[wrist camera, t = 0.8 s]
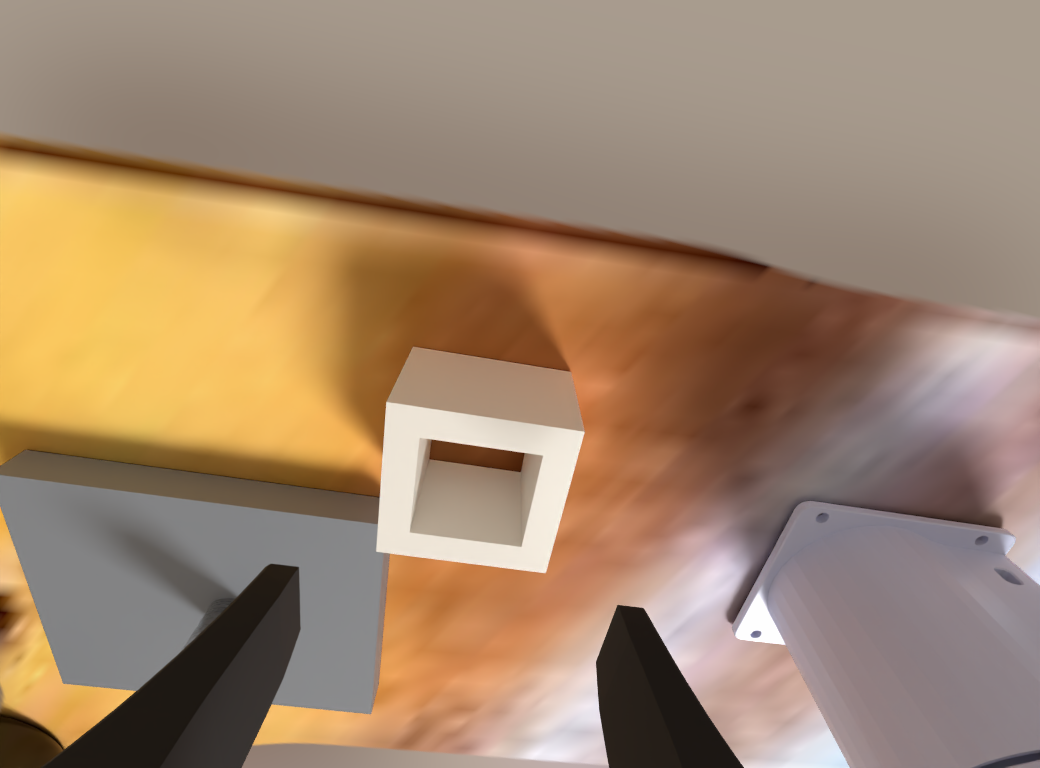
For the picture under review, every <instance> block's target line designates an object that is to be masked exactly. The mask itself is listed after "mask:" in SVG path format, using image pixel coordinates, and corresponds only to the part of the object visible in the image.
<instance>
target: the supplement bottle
mask: <svg viewBox="0 0 1040 768" xmlns="http://www.w3.org/2000/svg"><path fill="white" fill-rule="evenodd" d="M62 751H63V749H62V748H61V746H60V745H59V744H58V743H57V742H56V741H55V740H54V739H53V738H51V737H50V736H49V735H47V734H46V733H44V732H42V731H41V730H39V729H37V728H35V727H33V726H31V725H28V724H26V723H23V722H20V721H17V720H14V719H10V718H6V717H2V716H0V768H40V767H42V766H43V765H44V764H46V763H47V762H48V761H50V760H51V759H52V758H54V757H55V756H56V755H58V754H59V753H60V752H62Z"/></svg>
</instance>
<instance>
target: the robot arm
mask: <svg viewBox="0 0 1040 768" xmlns="http://www.w3.org/2000/svg"><path fill="white" fill-rule="evenodd" d="M821 513H822V514H821ZM819 514H821V515H819ZM818 515H819V516H818ZM1015 541H1016V538H1015V536H1014V535H1013V534H1012V533H1010V532H1009V531H1008V530H1006V529H1002V528H996V527H989V526H982V525H975V524H968V523H961V522H954V521H947V520H940V519H933V518H926V517H919V516H912V515H906V514H899V513H892V512H885V511H878V510H871V509H864V508H857V507H850V506H843V505H836V504H829V503H822V502H816V501H805V502H802V503H800V504H799V505H797V507H796V508H795V509H794V511H793V513H792V515H791V517H790V519H789V520H788V522H787V524H786V526H785V528H784V530H783V532H782V534H781V535H780V537H779V539H778V541H777V543H776V545H775V547H774V549H773V550H772V552H771V554H770V556H769V558H768V560H767V562H766V563H765V565H764V567H763V569H762V571H761V573H760V575H759V577H758V578H757V580H756V582H755V584H754V586H753V588H752V590H751V591H750V593H749V595H748V597H747V599H746V601H745V603H744V605H743V606H742V608H741V610H740V612H739V614H738V616H737V618H736V619H735V621H734V623H733V625H732V630H733V632H734V635H735V637H737V638H738V639H742V640H750V641H759V642H767V643H775V644H784V645H786V647H787V648H788V650H789V652H790V654H791V656H792V658H793V660H794V662H795V664H796V666H797V668H798V670H799V671H800V673H801V675H802V677H803V679H804V681H805V683H806V685H807V687H808V689H809V691H810V693H811V694H812V696H813V698H814V700H815V702H816V704H817V706H818V708H819V710H820V712H821V714H822V715H823V717H824V719H825V721H826V723H827V725H828V727H829V729H830V731H831V733H832V735H833V737H834V738H835V740H836V742H837V744H838V746H839V748H840V750H841V752H842V754H843V756H844V758H845V759H846V761H847V763H848V765H849V767H850V768H1040V585H1039V584H1037V583H1036V582H1035V581H1034V580H1033V579H1032V578H1030V577H1029V576H1028V575H1027V574H1026V573H1025V572H1024V571H1022V570H1021V569H1020V568H1019V567H1018V566H1017V565H1016V564H1014V563H1013V562H1012V561H1011V560H1010V559H1009V558H1007V557H1006V556H1005V555H1006V554H1007V553H1008V551H1009V550H1010V549H1011V548H1012V546H1013V545H1014V543H1015ZM300 630H301V626H300V583H299V567H296V566H288V565H279V564H269V565H267V566H266V567H265V568H264V569H263V570H262V571H261V572H260V573H259V574H258V575H257V576H256V578H255V579H254V580H253V581H252V582H251V583H250V584H249V585H248V586H247V587H246V588H245V589H244V590H243V591H242V592H241V593H240V594H239V595H238V596H237V597H236V598H235V599H234V600H233V601H232V603H231V604H230V605H229V606H228V607H227V608H226V609H225V610H224V611H223V612H222V613H221V614H220V615H219V616H218V617H217V618H216V619H215V620H214V621H212V622H211V623H210V624H209V625H208V626H207V627H206V628H205V629H204V630H203V631H202V632H201V633H200V634H199V635H198V636H197V637H196V638H195V639H194V640H193V641H192V642H191V643H189V644H188V645H187V646H186V647H185V648H184V649H183V650H182V651H181V652H180V653H179V654H178V655H177V656H176V657H175V658H173V659H172V660H171V661H170V662H169V663H168V664H167V665H166V666H164V667H163V668H162V669H161V670H160V671H159V672H158V673H156V674H155V675H154V676H153V677H152V678H151V679H150V680H149V681H147V682H146V683H145V684H144V685H143V686H142V687H141V688H140V689H138V690H137V691H136V692H135V693H134V694H133V695H131V696H130V697H129V698H128V699H127V700H126V701H124V702H123V703H122V704H121V705H120V706H118V707H117V708H116V709H115V710H114V711H112V712H111V713H110V714H109V715H107V716H106V717H105V718H104V719H103V720H101V721H100V722H99V723H98V724H96V725H95V726H94V727H93V728H91V729H90V730H89V731H87V732H86V733H85V734H84V735H82V736H81V737H80V738H79V739H77V740H76V741H75V742H74V743H72V744H71V745H70V746H68V747H67V748H66V749H64V750H63V751H62V752H60V753H59V754H58V755H56V756H55V757H54V758H52V759H51V760H50V761H48V762H47V763H46V764H44V765H43V766H42V767H40V768H242V765H243V763H244V761H245V759H246V757H247V755H248V753H249V751H250V749H251V747H252V744H253V742H254V740H255V738H256V736H257V734H258V732H259V730H260V728H261V725H262V723H263V721H264V719H265V717H266V715H267V713H268V711H269V708H270V706H271V704H272V702H273V700H274V698H275V696H276V693H277V691H278V689H279V687H280V685H281V683H282V680H283V678H284V675H285V673H286V670H287V667H288V664H289V661H290V659H291V656H292V653H293V650H294V647H295V644H296V641H297V639H298V636H299V633H300ZM596 668H597V685H598V698H599V711H600V717H601V723H602V729H603V735H604V741H605V746H606V752H607V758H608V763H609V768H744V767H743V766H742V764H741V763H740V762H739V760H738V759H737V757H736V756H735V755H734V753H733V752H732V750H731V749H730V747H729V746H728V744H727V743H726V742H725V740H724V739H723V737H722V736H721V734H720V733H719V731H718V730H717V728H716V727H715V725H714V724H713V722H712V721H711V719H710V718H709V716H708V715H707V713H706V712H705V710H704V709H703V707H702V705H701V704H700V702H699V701H698V699H697V697H696V696H695V694H694V693H693V691H692V689H691V688H690V686H689V685H688V683H687V682H686V680H685V678H684V677H683V675H682V673H681V672H680V670H679V668H678V667H677V665H676V663H675V662H674V660H673V658H672V656H671V655H670V653H669V651H668V650H667V648H666V646H665V644H664V643H663V641H662V639H661V637H660V636H659V634H658V632H657V630H656V629H655V627H654V625H653V623H652V622H651V620H650V618H649V616H648V615H647V613H646V611H645V610H644V609H643V608H639V607H630V606H622V605H617V608H616V611H615V613H614V616H613V619H612V621H611V624H610V626H609V629H608V632H607V634H606V637H605V640H604V642H603V645H602V648H601V650H600V653H599V656H598V658H597V661H596Z"/></svg>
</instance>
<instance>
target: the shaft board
mask: <svg viewBox="0 0 1040 768" xmlns="http://www.w3.org/2000/svg"><path fill="white" fill-rule="evenodd" d="M379 502H380V498H379V497H372V496H365V495H357V494H350V493H342V492H335V491H328V490H320V489H313V488H305V487H298V486H290V485H283V484H276V483H268V482H261V481H253V480H246V479H239V478H231V477H224V476H216V475H209V474H201V473H194V472H187V471H179V470H172V469H164V468H157V467H150V466H142V465H135V464H127V463H120V462H113V461H105V460H98V459H90V458H83V457H75V456H68V455H61V454H53V453H46V452H38V451H31V450H24V451H23V452H21V453H20V454H18V455H16V456H15V457H13V458H12V459H10V460H9V461H7V462H6V463H4V464H3V465H1V466H0V507H1V510H2V513H3V515H4V518H5V521H6V524H7V527H8V529H9V532H10V535H11V538H12V541H13V544H14V546H15V549H16V552H17V555H18V558H19V560H20V563H21V566H22V569H23V572H24V574H25V577H26V580H27V583H28V586H29V588H30V591H31V594H32V597H33V600H34V603H35V605H36V608H37V611H38V614H39V617H40V619H41V622H42V625H43V628H44V631H45V633H46V636H47V639H48V642H49V645H50V647H51V650H52V653H53V656H54V659H55V662H56V664H57V667H58V670H59V673H60V676H61V678H62V681H63V684H73V685H83V686H93V687H103V688H113V689H123V690H133V691H137V690H138V689H140V688H141V687H142V686H143V685H144V684H145V683H146V682H147V681H149V680H150V679H151V678H152V677H153V676H154V675H155V674H156V673H158V672H159V671H160V670H161V669H162V668H163V667H164V666H166V665H167V664H168V663H169V662H170V661H171V660H172V659H173V658H175V657H176V656H177V655H178V654H179V653H180V652H181V651H182V650H183V649H184V648H185V647H186V646H187V645H188V644H189V643H191V642H192V641H193V640H194V639H195V638H196V637H197V636H198V635H199V634H200V633H201V632H202V631H203V630H204V629H205V628H206V627H207V626H208V625H209V624H210V623H211V622H212V621H214V620H215V619H216V618H217V617H218V616H219V615H220V614H221V613H222V612H223V611H224V610H225V609H226V608H227V607H228V606H229V605H230V604H231V603H232V601H233V600H234V599H235V598H236V597H237V596H238V595H239V594H240V593H241V592H242V591H243V590H244V589H245V588H246V587H247V586H248V585H249V584H250V583H251V582H252V581H253V580H254V579H255V578H256V576H257V575H258V574H259V573H260V572H261V571H262V570H263V569H264V568H265V567H266V566H267V565H269V564H279V565H288V566H296V567H299V583H300V626H301V630H300V633H299V636H298V639H297V641H296V644H295V647H294V650H293V653H292V656H291V659H290V661H289V664H288V667H287V670H286V673H285V675H284V678H283V680H282V683H281V685H280V687H279V689H278V691H277V693H276V696H275V698H274V700H273V702H272V704H274V705H284V706H294V707H304V708H314V709H324V710H334V711H344V712H354V713H364V714H371V712H372V708H373V704H374V700H375V696H376V692H377V688H378V684H379V674H380V662H381V650H382V638H383V627H384V615H385V603H386V591H387V579H388V567H389V556H390V553H382V552H376V546H377V532H378V517H379Z"/></svg>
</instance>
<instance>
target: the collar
mask: <svg viewBox="0 0 1040 768" xmlns="http://www.w3.org/2000/svg"><path fill="white" fill-rule="evenodd" d="M584 432H585V431H584V427H583V422H582V418H581V413H580V409H579V404H578V400H577V395H576V391H575V387H574V382H573V378H572V373H571V372H569V371H562V370H556V369H550V368H544V367H537V366H531V365H525V364H519V363H512V362H506V361H500V360H494V359H488V358H481V357H475V356H469V355H463V354H456V353H450V352H444V351H438V350H431V349H425V348H419V347H413V348H412V350H411V352H410V354H409V356H408V358H407V360H406V362H405V364H404V366H403V369H402V371H401V373H400V375H399V377H398V379H397V381H396V383H395V385H394V387H393V389H392V391H391V393H390V395H389V398H388V400H387V402H386V415H385V429H384V444H383V458H382V473H381V488H380V502H379V517H378V532H377V546H376V552H382V553H390V554H398V555H406V556H414V557H422V558H430V559H438V560H446V561H454V562H462V563H470V564H477V565H485V566H493V567H501V568H509V569H517V570H525V571H533V572H541V573H546V570H547V567H548V563H549V559H550V556H551V552H552V549H553V545H554V541H555V538H556V534H557V530H558V527H559V523H560V520H561V516H562V512H563V509H564V505H565V501H566V498H567V494H568V490H569V487H570V483H571V480H572V476H573V472H574V469H575V465H576V461H577V458H578V454H579V451H580V447H581V443H582V440H583V436H584ZM432 439H433V440H439V441H446V442H453V443H460V444H467V445H474V446H481V447H488V448H494V449H501V450H508V451H515V452H522V453H525V455H524V459H523V464H522V469H521V472H515V471H508V470H501V469H494V468H487V467H480V466H473V465H466V464H459V463H452V462H445V461H438V460H431V459H429V457H430V448H431V440H432Z"/></svg>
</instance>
